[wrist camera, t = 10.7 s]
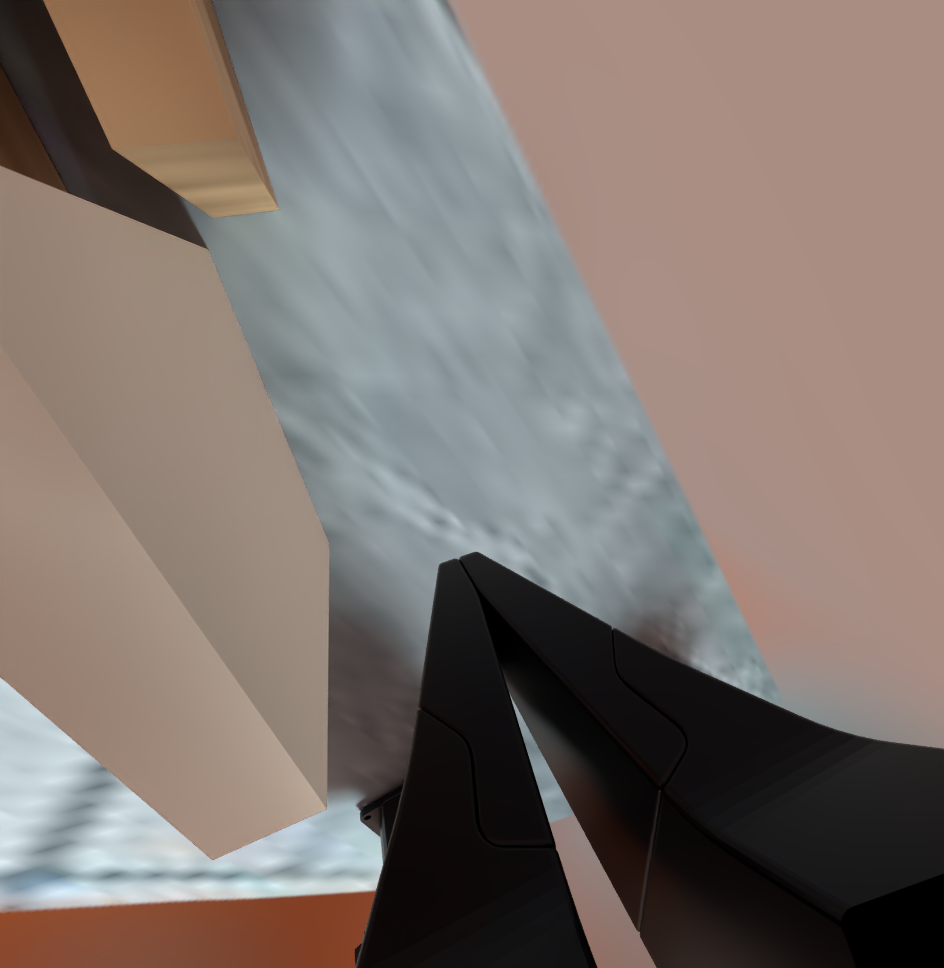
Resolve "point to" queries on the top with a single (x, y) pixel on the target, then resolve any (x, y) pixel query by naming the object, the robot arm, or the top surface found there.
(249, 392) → the cover plate
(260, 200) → the oak box
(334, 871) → the top surface
